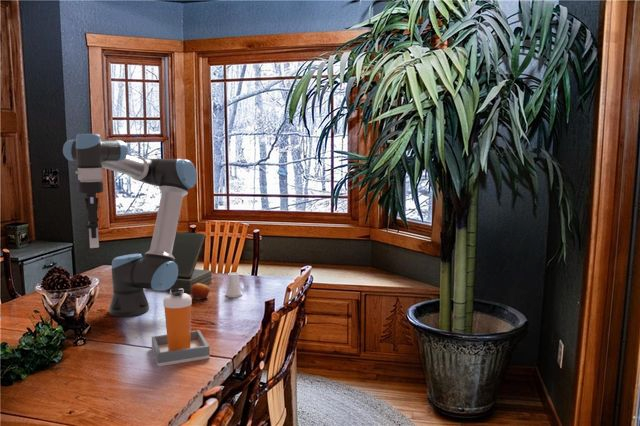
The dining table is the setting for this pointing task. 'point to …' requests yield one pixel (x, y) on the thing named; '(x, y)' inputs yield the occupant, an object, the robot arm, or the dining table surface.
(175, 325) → the shaker bottle
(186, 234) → the grey angled stand
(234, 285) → the white cup
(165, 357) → the tray
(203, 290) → the fruit
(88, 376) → the dining table surface
